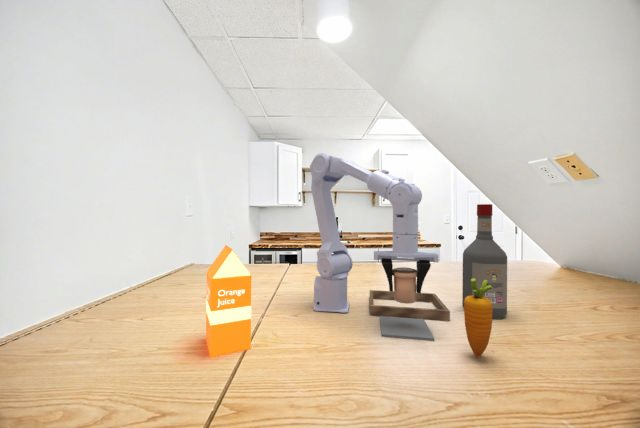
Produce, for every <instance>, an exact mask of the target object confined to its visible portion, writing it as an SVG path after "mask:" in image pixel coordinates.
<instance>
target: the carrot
mask: <svg viewBox="0 0 640 428" xmlns="http://www.w3.org/2000/svg"><path fill="white" fill-rule="evenodd" d="M470 282H471V286H472V290H473V293H474V295H472V296H467V297H466V298H465V300H464V308H463V310H464V311H463V312H464V314H463V315H464V325H465V326H464V327H465V332H466V337H467V341H468V343H469V347H470V349H471V350H472V353H473V354H474V356H475V357H476V358H480V357H481V356H482V355H483V354H484V352H485V351H486V349H487V347H488V345H489V341H490V337H491V334H492V333H491V332H492V326H493V319H492V311H493V307H492V303H491V301H490V300H489V299H488V298H485V297H483V295H484V294H485V293H486V292H487V291H488V290H489V289H492V286H490V285H489V286H486V284H487V282H488V281H487V280H484V281H483V283H482V286H481V288H480V289H478V286H477V284H476V279H474V278H473V279H471V281H470ZM485 286H486V287H485Z"/></svg>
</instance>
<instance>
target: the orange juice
mask: <svg viewBox="0 0 640 428" xmlns="http://www.w3.org/2000/svg"><path fill="white" fill-rule="evenodd" d="M205 273H206V293H205V294H206V296H205V297H206V299H205V310H206V311H205V312H206V314H205V318H206V319H205V340H206V345H207V350H208V353H209V358H215V357H220V356H225V355H228V354H233V353H238V352H242V351H247V350H250V349H251V348H252V341H251V339H252V274H251V273H250V271H249V270H248V269H247V267H246V266H245V264H244V263H243V262H242V260H241V259H240V258H239V256H238V255H237V253H235V251H234V249H233V248H231V247H229V246H228V245H227V244H225V246H224V247H223V248H222V250H221V251H220V252H219V254H218V255H217V256H216V258H215V259H214V261H213V262H212V264H211V265H210V266H209V268H208V269H207V270H206V272H205Z"/></svg>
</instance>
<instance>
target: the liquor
mask: <svg viewBox="0 0 640 428" xmlns="http://www.w3.org/2000/svg"><path fill="white" fill-rule="evenodd" d="M476 216H477V224H476V225H477V226H476V227H477V229H476V230H477V231H476V235H475V238H474V240H473V241H472V242H471V243H470V244H469V245H467V247H466V248H465V249H463V250H464V251H463V252H462V303H461V304H462V309H464V300H465V298H466V297H467V296H472V295H474V293H473V290H472V286H471V282H470V281H471V279H473V278H474V279H476V284H477V286H478V289H480V288H481V286H482V283H483V281H484V280H487V281H488V282H487V284H486V286H489V285H490V286H492V289H489V290H488V291H487V292H486V293H485V294H484V295H483V297H485V298H488V299H489V300H490V301H491V303H492V307H493V311H492V320H503V319H504V318H505V317H506V316H507V314H508V255H507V253H506V252H505V250H504V249H503V248H501V247H500V245H499V244H498V243H497V242H495V240H494V235H493V232H492V231H493V223H492V222H493V219H492V218H493V204H491V203H490V204H488V203H486V204H483V203H480V204H479V203H478V204H476ZM486 286H485V287H486Z"/></svg>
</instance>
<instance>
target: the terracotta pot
mask: <svg viewBox="0 0 640 428" xmlns="http://www.w3.org/2000/svg"><path fill="white" fill-rule="evenodd" d="M417 276H418V271H417V268H411V267H394V268H392V277H393V291H394V299H395V300H394V301H395V302H397V303H400V304H406V305H407V304H409V305H410V304H414V303H416V302H417V301H416V293H417V291H416V283H417Z"/></svg>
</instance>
